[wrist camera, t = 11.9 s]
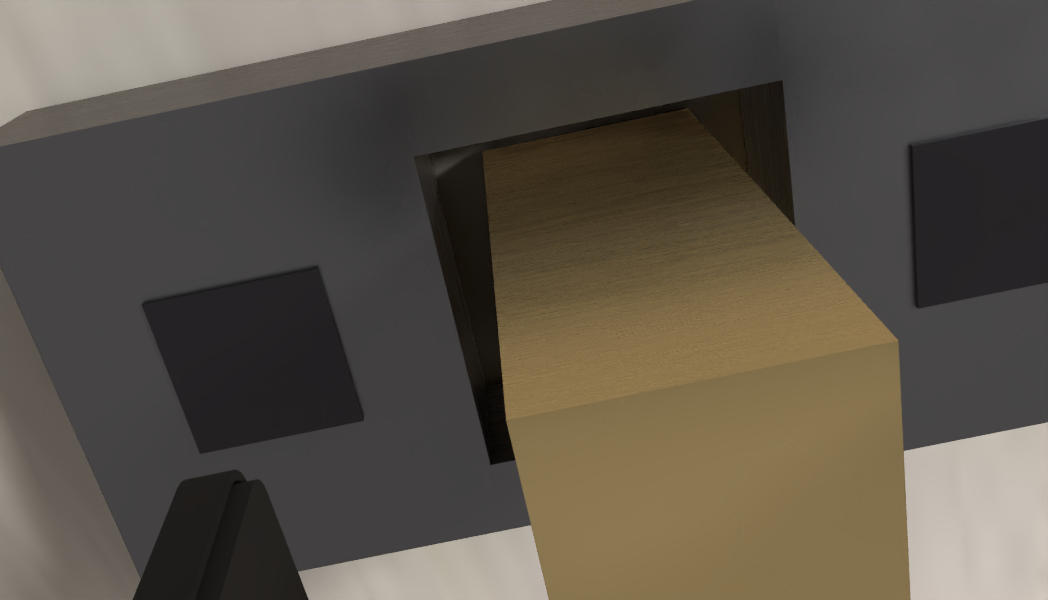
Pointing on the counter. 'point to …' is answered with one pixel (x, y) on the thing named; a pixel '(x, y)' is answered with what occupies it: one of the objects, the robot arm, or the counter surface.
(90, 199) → the grey peg hole board
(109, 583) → the counter surface
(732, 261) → the brass peg
